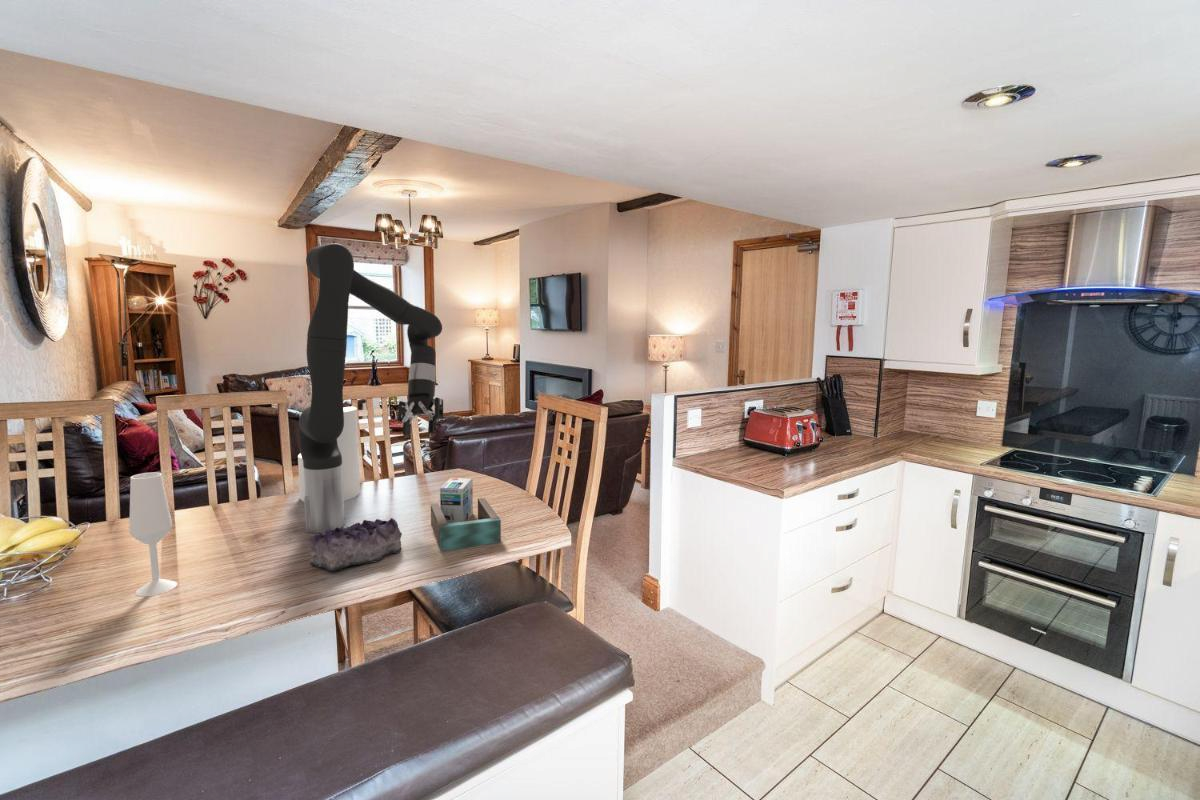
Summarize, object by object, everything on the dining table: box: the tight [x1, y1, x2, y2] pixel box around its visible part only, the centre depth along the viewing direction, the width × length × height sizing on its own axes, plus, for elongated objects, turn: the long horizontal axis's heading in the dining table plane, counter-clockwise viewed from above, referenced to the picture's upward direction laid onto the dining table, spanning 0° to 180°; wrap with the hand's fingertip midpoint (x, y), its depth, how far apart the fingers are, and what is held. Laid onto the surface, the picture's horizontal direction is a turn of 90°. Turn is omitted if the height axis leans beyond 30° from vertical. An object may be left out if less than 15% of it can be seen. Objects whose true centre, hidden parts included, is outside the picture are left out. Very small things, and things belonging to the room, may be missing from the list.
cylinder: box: [297, 406, 361, 503], centre depth 170 cm, size 17×17×28 cm
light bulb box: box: [439, 477, 474, 524], centre depth 153 cm, size 11×7×11 cm, turn 179°
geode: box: [307, 517, 403, 572], centre depth 126 cm, size 20×12×10 cm, turn 134°
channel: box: [430, 497, 502, 552], centre depth 143 cm, size 15×19×6 cm
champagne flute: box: [128, 471, 178, 597], centre depth 108 cm, size 7×7×24 cm
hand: (419, 435), depth 154 cm, fingers open, 8 cm apart
